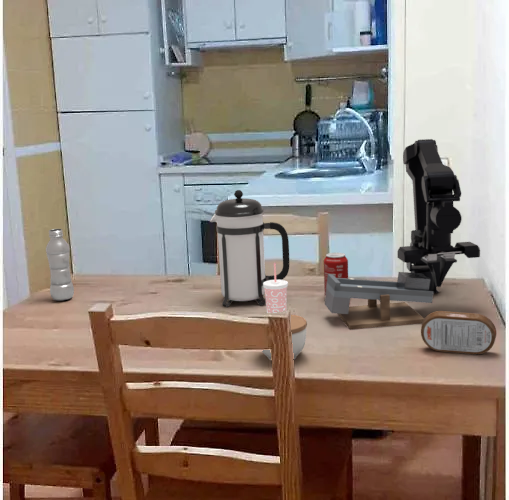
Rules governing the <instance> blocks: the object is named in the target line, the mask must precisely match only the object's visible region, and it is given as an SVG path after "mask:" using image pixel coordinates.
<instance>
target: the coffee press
mask: <svg viewBox="0 0 509 500" xmlns="http://www.w3.org/2000/svg"><path fill="white" fill-rule="evenodd" d="M233 195H234V197H235V198H232V199H231V198H230V199H226V200H223V201H222V202H220V203H218V204H217V206H216V210H214V214H213V216H212V217H211V219H210V220H209V223H216V233H217V243H218V244H217V245H218V259H219V263H218V264H219V275H220V276H219V277H220V291H221V295H222V296H223V300H222V304H221V305H222V307H224V308H229V307H230V306H231V304H232V303H233V302H248V301H256V303H257V305H259V306H260V307H261V306H264V305H266V298H265V297H264V296H265V289H264V287H263V283H264V282H265V281H268V280H274V275H266V266H265V265H266V264H265V263H266V261H265V240H264V239H265V238H264V230H275V231H277V232H278V233H279V234H280V237H281V247H282V248H281V249H282V250H281V251H282V269H281V271H280V272H279V273H278V274H276V280H285V278H286V277H287V276H288V273H289V271H290V243H289V236H288V232H287V229H285V227H284V226H283V225H282V224H280V223H277V222H274V221H273V222H272V221H271V222H264V218H263V217H264V215H263V214H264V212H265V208H264V207H263V206H262V204H261V203H260V202H259V200H256V199H253V198H245V197H244V198H242V197H243V196H244V193H243V191H242V190H241V189H237V190H235V191H234V194H233Z"/></svg>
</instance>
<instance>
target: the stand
mask: <svg viewBox="0 0 509 500" xmlns="http://www.w3.org/2000/svg"><path fill="white" fill-rule="evenodd" d="M390 301H391V300H390V295H389V294H387V295H380V301H379V303H377V302H378V300H375V299H367V304H365V305H352V306H349V312H348V314H337V316H338V317H339V318H340V319H341V320H342V322H343V323H344V324H345V325H346V327H347V328H348V330H360V329H371V328H383V327H394V326H407V325H419V324H422V322H423V320H424V319H425V317H423V315H421V314H420V313H418V312H417V311H416V310H415V309H414V308H412V306H411V305H409V304H408V302H406V301H398V302H390Z"/></svg>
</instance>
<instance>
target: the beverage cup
mask: <svg viewBox="0 0 509 500" xmlns="http://www.w3.org/2000/svg"><path fill="white" fill-rule="evenodd" d="M276 263H277V262H273V274H274V280H268V281H265V282H264V283H263V287H264V289H265V294H264V296H265V297H264V299H265V301H266V303H265V305H266V314H267V313H277V312H283V311H286V312H287V306H288V305H287V304H288V302H287V298H288V287H289V281H287V280H285V279H282V280H276V275H277V267H276V266H277V264H276Z"/></svg>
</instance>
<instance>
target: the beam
mask: <svg viewBox="0 0 509 500" xmlns="http://www.w3.org/2000/svg"><path fill="white" fill-rule="evenodd" d="M396 287H397V281H393V280H378V279H377V280H375V279H364V278H363V279H360V278H354V277H351V278H350V277H348V279H347V278H336V277H335V276H334V275H333V274H328V277H327V285H326V295H325V294H324V306H325V307H326V308H327V310H328V311H329V312H330V313H331V314H336V315H338V314H348V312H349V307H350V304H351V303H350V302H351V299H360V300H361V299H363V300H368V299H375V300H377V301H378V302H380V295H387V294H389V295H390V301H394V302H407V303H408V302H411V303H413V302H414V303H426V304H432V303H433V298H434V294H435V293H434V292H433V291H423V290H407V289H397V288H396Z"/></svg>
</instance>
